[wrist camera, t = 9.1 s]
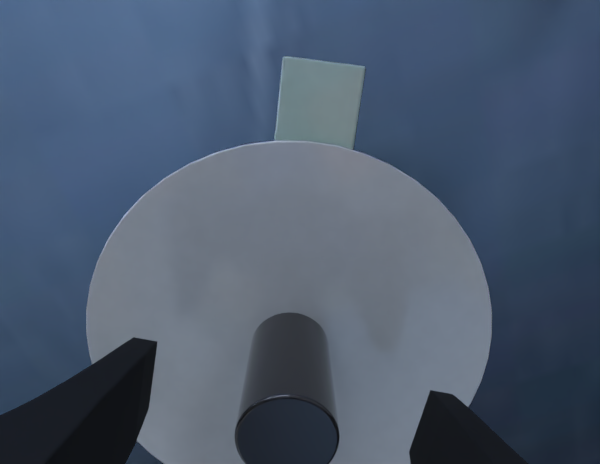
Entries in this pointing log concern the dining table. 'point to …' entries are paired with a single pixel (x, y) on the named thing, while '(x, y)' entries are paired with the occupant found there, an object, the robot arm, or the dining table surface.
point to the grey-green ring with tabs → (319, 101)
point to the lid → (292, 306)
